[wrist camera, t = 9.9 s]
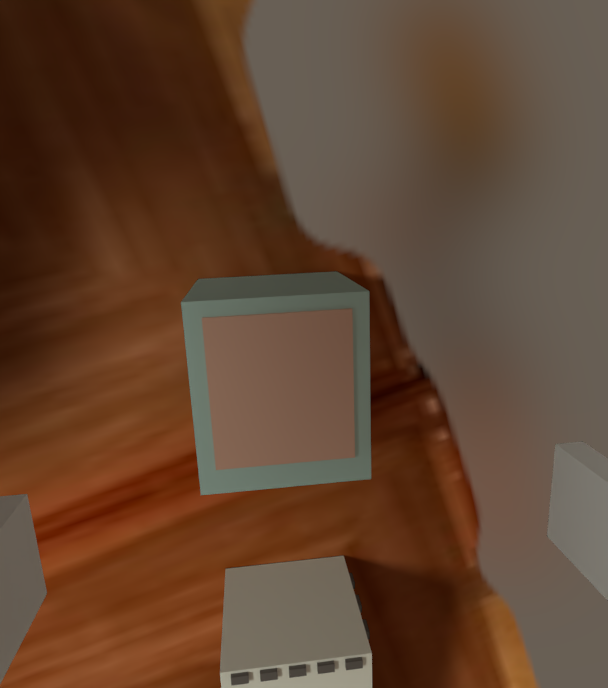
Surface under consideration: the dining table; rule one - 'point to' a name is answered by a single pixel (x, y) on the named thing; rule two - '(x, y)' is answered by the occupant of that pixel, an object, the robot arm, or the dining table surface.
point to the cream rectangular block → (294, 627)
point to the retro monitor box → (279, 380)
